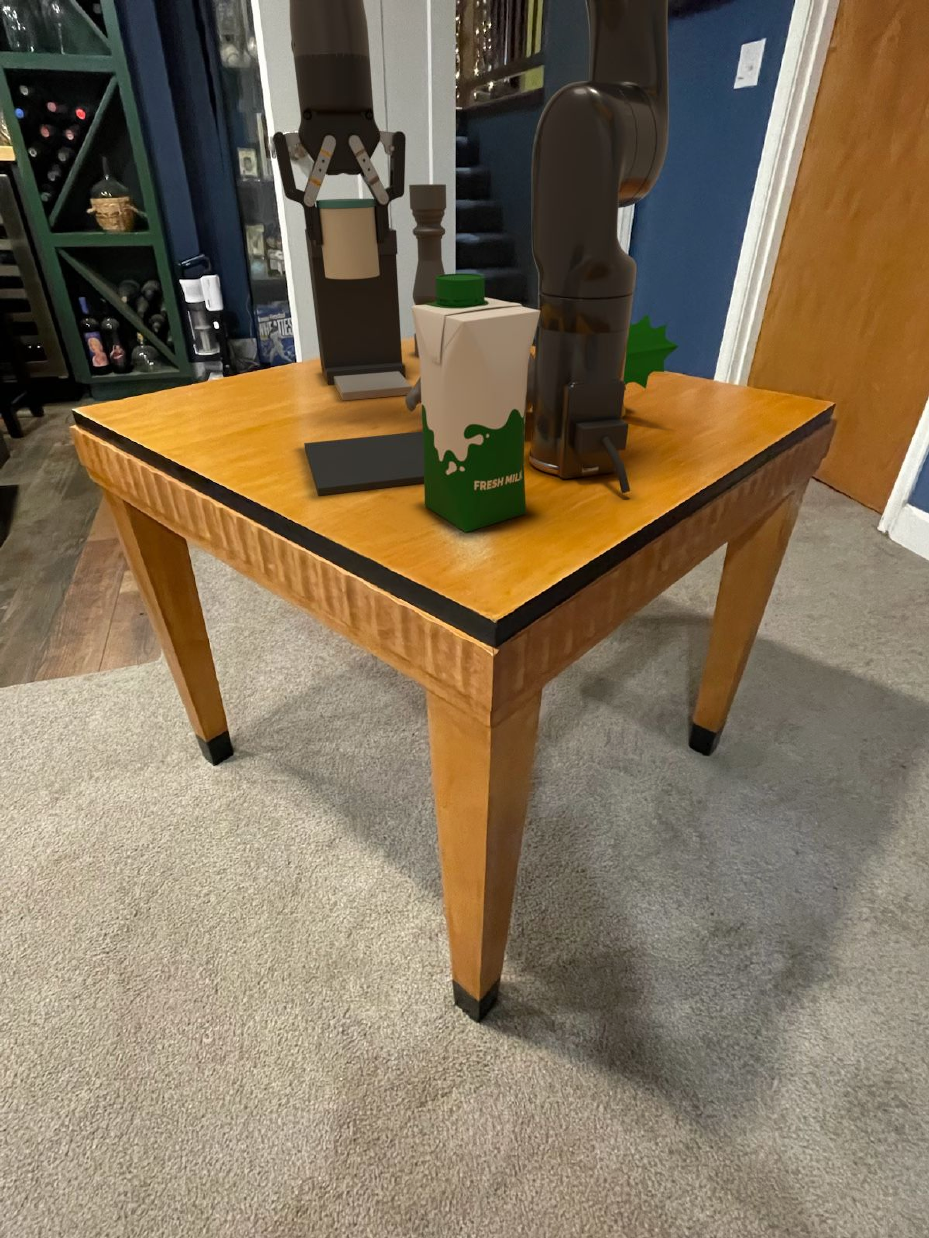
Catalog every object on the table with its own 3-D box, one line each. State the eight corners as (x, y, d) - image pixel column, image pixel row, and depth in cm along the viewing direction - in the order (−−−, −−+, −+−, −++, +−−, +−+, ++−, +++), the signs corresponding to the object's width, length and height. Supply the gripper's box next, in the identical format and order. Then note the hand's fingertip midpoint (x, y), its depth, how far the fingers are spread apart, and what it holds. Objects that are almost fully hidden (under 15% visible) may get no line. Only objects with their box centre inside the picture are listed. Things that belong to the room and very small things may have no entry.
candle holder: (431, 348, 123) (426, 184, 109) (457, 353, 120) (455, 184, 106) (407, 355, 119) (399, 185, 106) (434, 360, 116) (429, 185, 102)
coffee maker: (418, 394, 99) (412, 236, 88) (335, 401, 96) (317, 239, 85) (395, 366, 113) (386, 226, 102) (321, 372, 110) (304, 229, 99)
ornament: (643, 452, 92) (710, 345, 84) (614, 451, 86) (684, 336, 78) (535, 376, 100) (587, 272, 93) (501, 370, 94) (554, 258, 86)
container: (384, 277, 77) (379, 199, 73) (327, 280, 76) (318, 201, 72) (375, 271, 82) (369, 198, 78) (321, 274, 81) (313, 199, 77)
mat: (452, 479, 72) (452, 472, 72) (318, 496, 69) (317, 488, 68) (421, 437, 83) (421, 431, 83) (305, 449, 80) (304, 443, 80)
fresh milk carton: (484, 485, 71) (487, 269, 60) (540, 515, 65) (554, 281, 54) (411, 505, 67) (399, 278, 56) (463, 540, 61) (461, 292, 49)
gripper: (258, 47, 64) (286, 250, 73) (410, 50, 67) (419, 245, 76) (256, 58, 70) (282, 244, 79) (395, 61, 73) (405, 239, 82)
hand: (349, 244), depth 77 cm, fingers closed on container, 6 cm apart
